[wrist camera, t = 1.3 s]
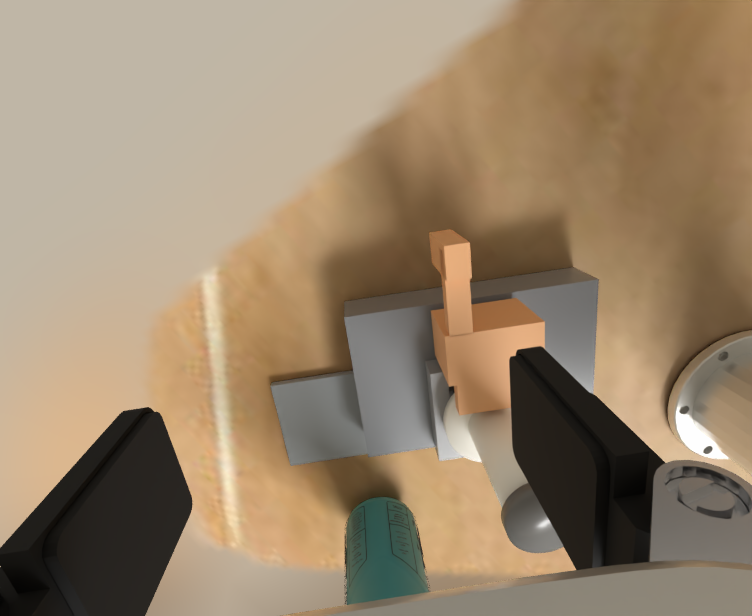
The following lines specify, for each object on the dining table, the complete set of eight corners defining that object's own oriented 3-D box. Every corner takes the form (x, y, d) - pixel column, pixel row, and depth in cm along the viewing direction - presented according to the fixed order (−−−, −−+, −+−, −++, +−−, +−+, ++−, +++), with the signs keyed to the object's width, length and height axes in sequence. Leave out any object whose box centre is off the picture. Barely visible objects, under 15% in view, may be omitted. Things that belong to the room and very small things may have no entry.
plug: (518, 353, 31) (612, 461, 20) (519, 425, 33) (605, 559, 22) (432, 366, 31) (479, 482, 20) (439, 437, 33) (485, 578, 22)
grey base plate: (573, 267, 33) (615, 287, 28) (570, 399, 37) (606, 438, 32) (344, 301, 33) (343, 328, 27) (366, 430, 37) (369, 475, 31)
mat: (368, 367, 35) (368, 371, 34) (380, 447, 37) (381, 451, 37) (271, 382, 35) (270, 386, 34) (291, 461, 37) (290, 465, 37)
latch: (514, 218, 27) (549, 230, 23) (518, 369, 31) (548, 406, 26) (422, 231, 27) (438, 247, 22) (437, 381, 31) (453, 421, 26)
